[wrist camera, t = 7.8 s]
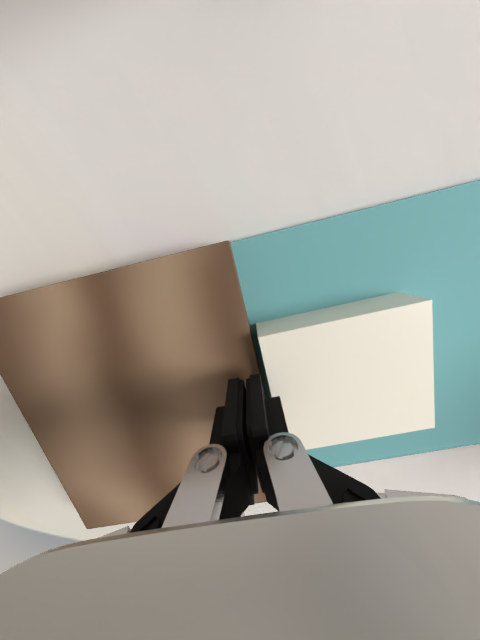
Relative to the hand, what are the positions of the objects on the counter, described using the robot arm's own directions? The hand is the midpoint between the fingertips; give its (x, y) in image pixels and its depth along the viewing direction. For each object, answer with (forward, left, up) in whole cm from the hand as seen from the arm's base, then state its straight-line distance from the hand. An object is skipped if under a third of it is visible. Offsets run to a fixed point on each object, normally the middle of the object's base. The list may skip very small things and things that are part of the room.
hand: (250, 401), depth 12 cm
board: (+6, 0, -3) cm, 7 cm away
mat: (-9, 0, -3) cm, 9 cm away
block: (-5, 0, -1) cm, 5 cm away
